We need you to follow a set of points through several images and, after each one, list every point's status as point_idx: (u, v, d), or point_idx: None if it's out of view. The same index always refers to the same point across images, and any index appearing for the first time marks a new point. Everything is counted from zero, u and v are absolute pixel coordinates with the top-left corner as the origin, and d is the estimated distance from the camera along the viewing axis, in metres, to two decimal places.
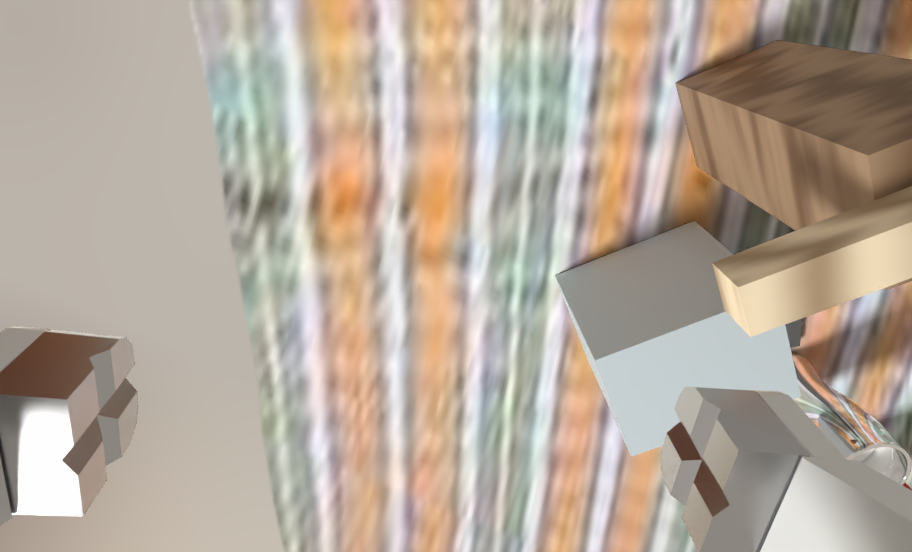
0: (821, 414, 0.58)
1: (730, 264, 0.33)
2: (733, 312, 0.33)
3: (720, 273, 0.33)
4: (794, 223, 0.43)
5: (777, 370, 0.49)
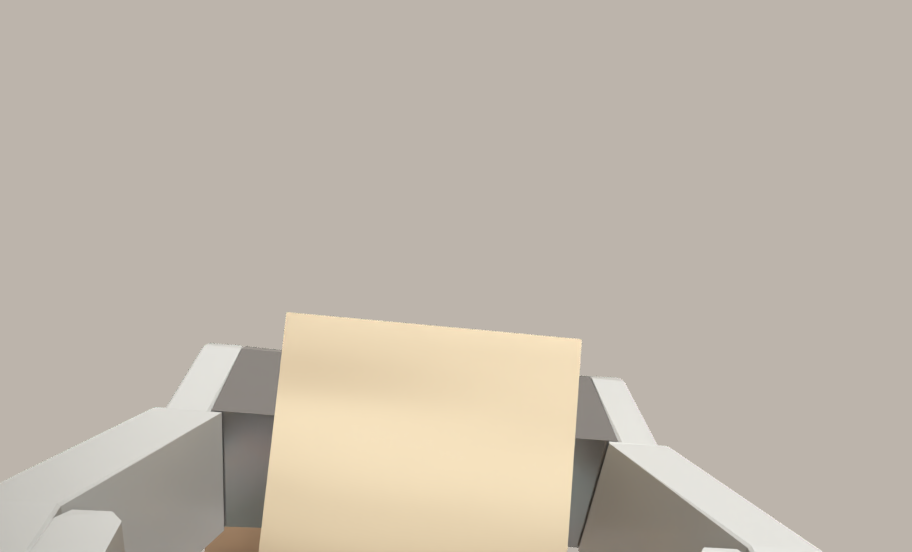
0: None
1: None
2: (512, 495, 0.06)
3: (283, 528, 0.06)
4: None
5: None
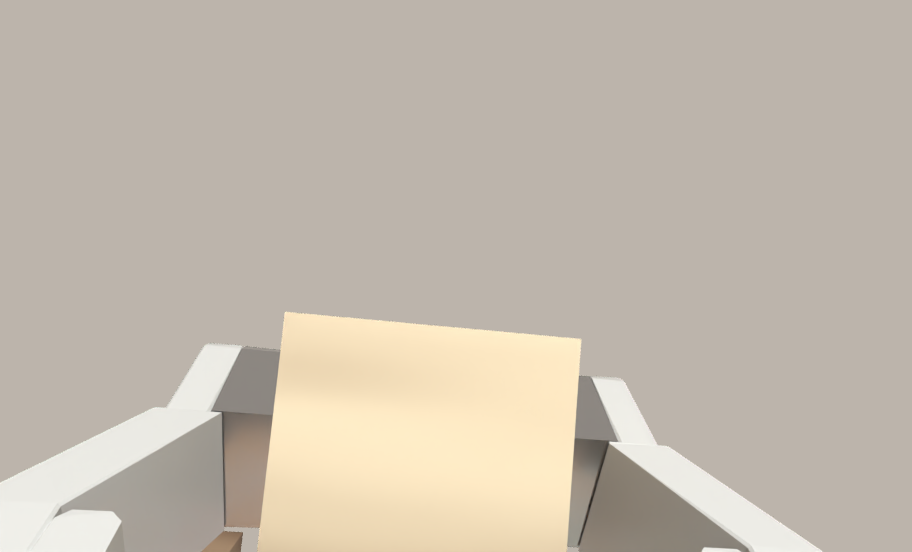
0: None
1: None
2: (511, 496, 0.06)
3: (282, 529, 0.06)
4: None
5: None
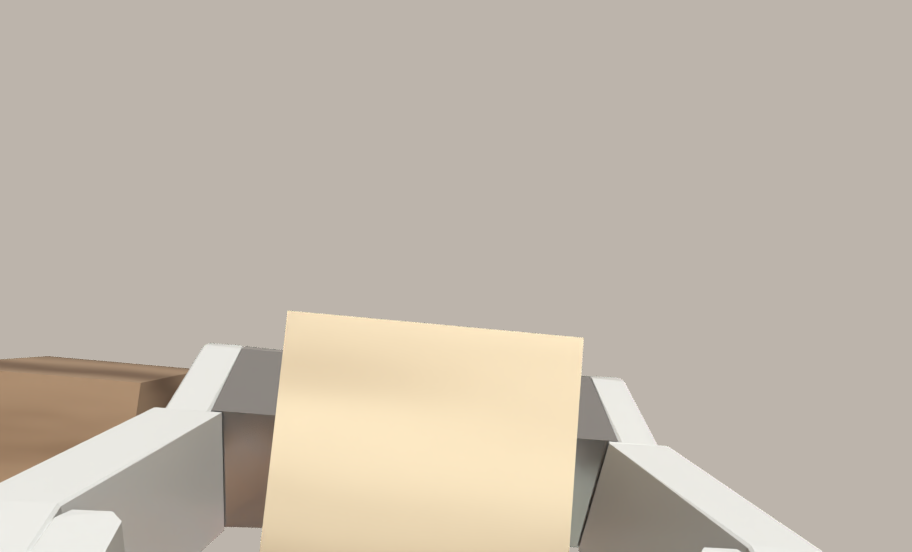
0: None
1: None
2: (514, 494, 0.06)
3: (284, 528, 0.06)
4: None
5: None
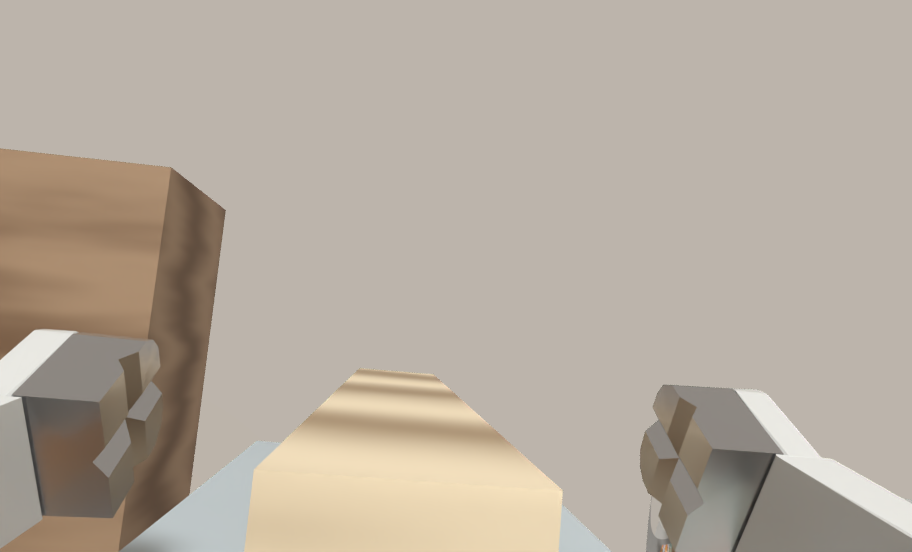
0: None
1: None
2: None
3: None
4: None
5: None
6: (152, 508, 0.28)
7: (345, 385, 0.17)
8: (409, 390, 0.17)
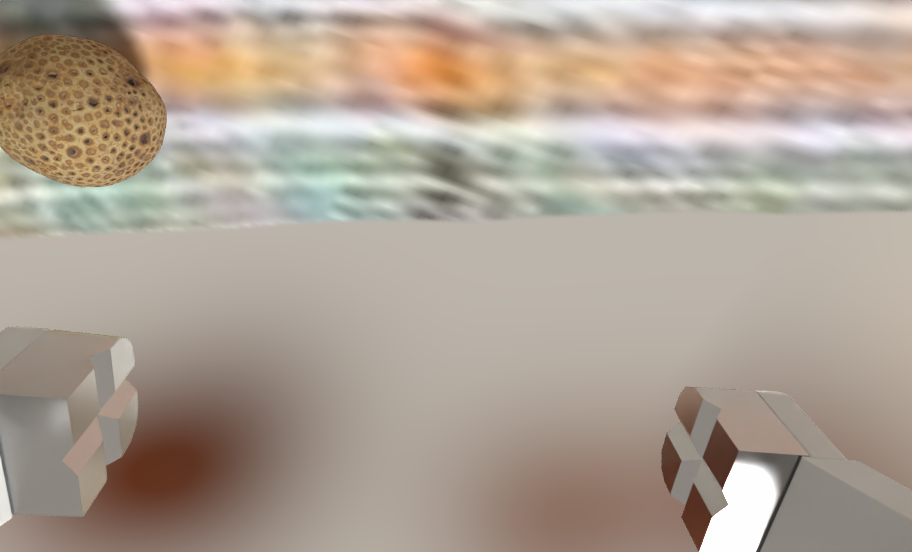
0: None
1: None
2: None
3: None
4: None
5: None
6: None
7: None
8: None
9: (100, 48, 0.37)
